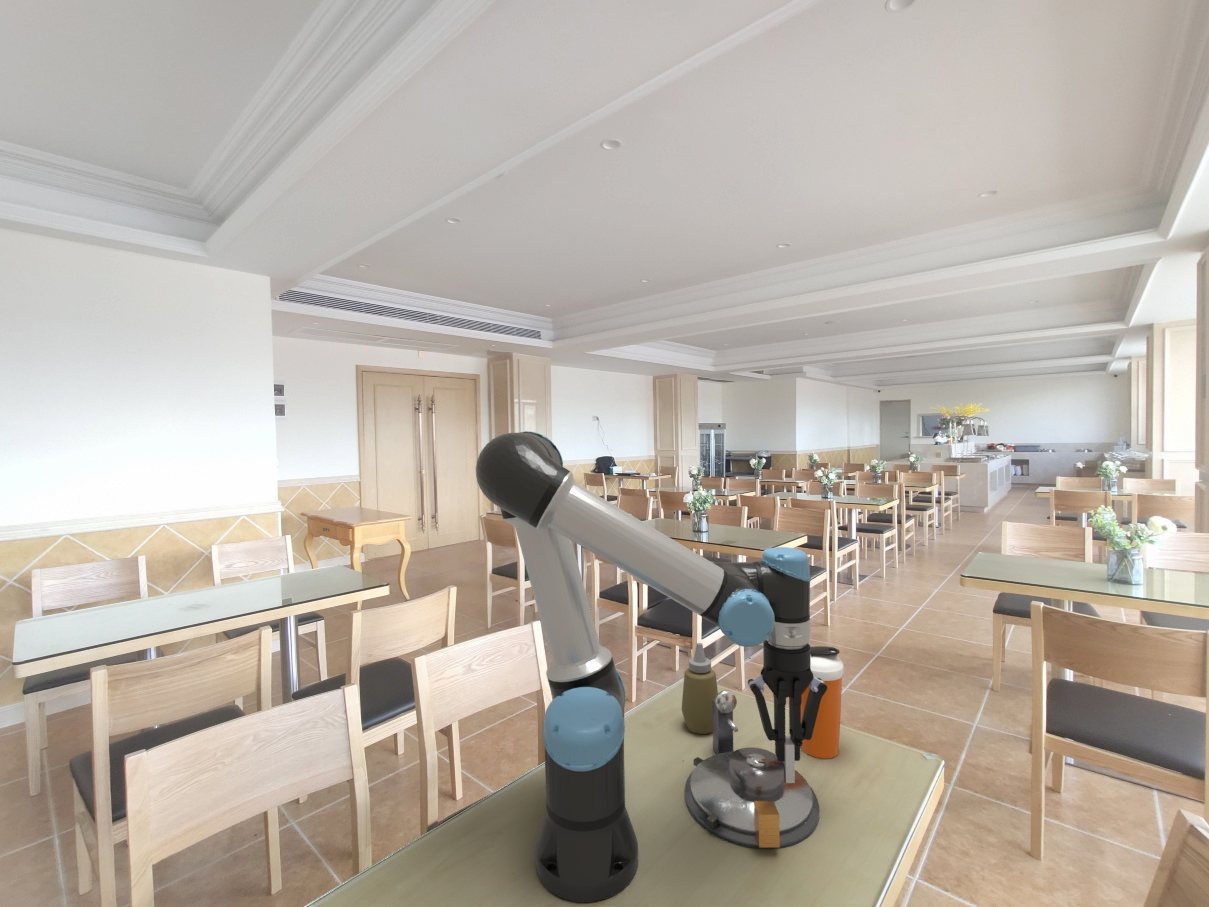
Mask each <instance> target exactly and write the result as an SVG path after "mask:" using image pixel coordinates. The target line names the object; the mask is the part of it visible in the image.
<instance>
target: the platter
mask: <svg viewBox="0 0 1209 907" xmlns="http://www.w3.org/2000/svg"><path fill="white" fill-rule="evenodd" d="M733 752H734V751H733ZM733 752H726V753H720V754H716V753H715V754H713V755H711V756H708V757H707V758H704V759H703V758H700V757H698V756H696V757H695V758H694V759H693V766H695V767H694V769H693V770H694V771H693V770H692V771H693V772H692V771H691V773H692V775H691V781H690V783H691V795H692V798H693V800H694V802H695V804H696V805H697V807H698V808H699V809H700V810H701V811H702V812H703V814H705V815H706V816H707V817H708V818H707V819H706V824H707V825H708V826H709V827H711V828H714V827H715V826H716V825H718V824H719V825H721V826H723V827H725V828H728V829H730V830H733V831H736V832H739V833H744V834H749V835H755V836H756V839H757V842H758V845H759V847H780V835H781V834H785V833H788V832H791V831H793V830H796V829H797V828H799V827H801V826H802V825H803V824H804V823H805V822H806V821H807V820H808V819H809V817H810V815H811V813H812V809H813V795H812V791H811V788H812V787H811V785H810V784H809V782H807V779H805V778H804V776H803V775H802V774H801V773H800V772H798V770H796V769H795V783H786V782H785V791H784V795H783V796H782V797H781V798H780V799H779V800H777V801H775V802H774V801H754V802H751V801H747V800H745V799H743V798H741V797H739V796H738V795H737V794H736V793H735V792H734V791H733V790H732V788H731V786H730V766H729V758H730V756H731V754H732V753H733ZM810 787H811V788H810Z"/></svg>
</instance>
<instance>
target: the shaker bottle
mask: <svg viewBox="0 0 1209 907" xmlns="http://www.w3.org/2000/svg"><path fill="white" fill-rule="evenodd" d="M839 654H841V653H840V650H839V649H838V648H837V647H833V646H825V645H824V646H822V645H819V646H816V645H815V646H810V660H811V665H810V668H811V671H812V673H813V676H814V677H816V678H820V679H822V681H823V682H824V683H825V684H826V686H827V691H826V692H825V694H824V695H823V696H822V698H821V702H820V706H819V710H818V714H817V718H816V722H815V726H814V730H813V734H812V738H811V739H810V740H806V739H805V740H803V741H802V746H800V749H802V750H801V751H803V752H804V753H806V754H807V755H810V756H811V757H813V758H817V759H822V760H823V759H824V760H825V759H826V760H828V759H829V760H830V759H834V758H836V757H837V756H838V755H839V752H840V735H841V734H840V732H841V731H840V730H841V714H842V713H841V711H842V710H841V709H842V694H843V692H842V687H843V677H844V675H845V674H844V672H845V671H844V663H843V662H842V660H841V659H840V658H839V657H838V655H839ZM809 685H810V684H809ZM809 690H810V687H809V686H808V687H807V689H806V690H805V691H804V693H803V694H802V704H801V722H802V718H803V714H804V710H805V705H806V701H807V697H808V693H809Z"/></svg>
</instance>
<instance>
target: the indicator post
mask: <svg viewBox="0 0 1209 907" xmlns="http://www.w3.org/2000/svg"><path fill="white" fill-rule="evenodd" d="M737 701H738V700H737V697H736V696H735V694H734V693H733V692H732V691H731V690H727V689H724V690H721V691H718V694H717V696H716V698H715V699H712V716H713V731H712V750H713V751H714V752H715V755H716V754H720V753H726V752H734V733H738V731H739V728H738V727H737V726H736V724H735V723H734V713H733V712H734V710H735V709H736V707H737V703H738V702H737Z"/></svg>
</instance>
